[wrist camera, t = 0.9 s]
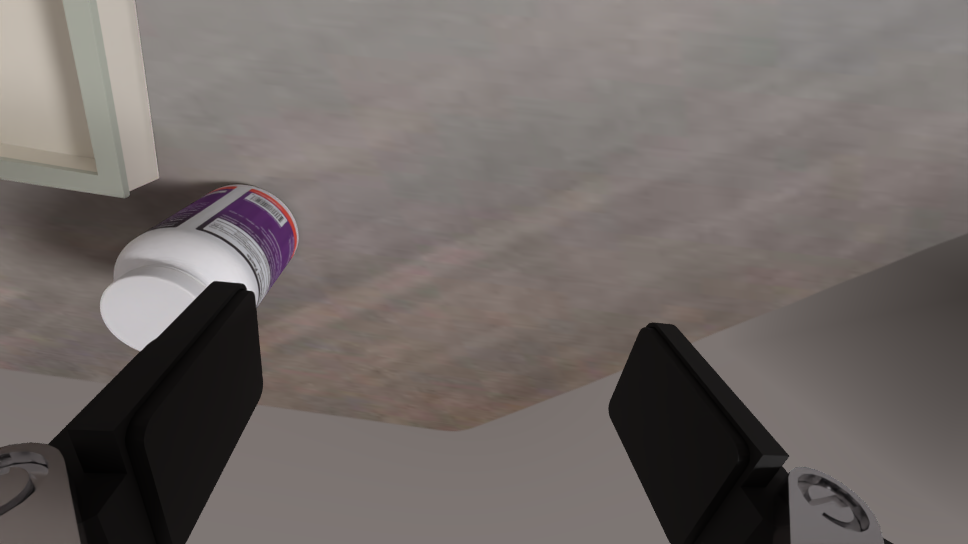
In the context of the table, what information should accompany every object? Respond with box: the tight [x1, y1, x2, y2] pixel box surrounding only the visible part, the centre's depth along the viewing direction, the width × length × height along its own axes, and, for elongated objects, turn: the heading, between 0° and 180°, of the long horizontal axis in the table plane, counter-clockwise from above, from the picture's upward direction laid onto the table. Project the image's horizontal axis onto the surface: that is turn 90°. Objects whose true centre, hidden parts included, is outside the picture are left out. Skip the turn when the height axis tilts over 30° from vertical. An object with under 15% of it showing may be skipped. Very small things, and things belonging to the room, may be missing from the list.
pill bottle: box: [100, 184, 299, 351], centre depth 29 cm, size 8×8×14 cm
